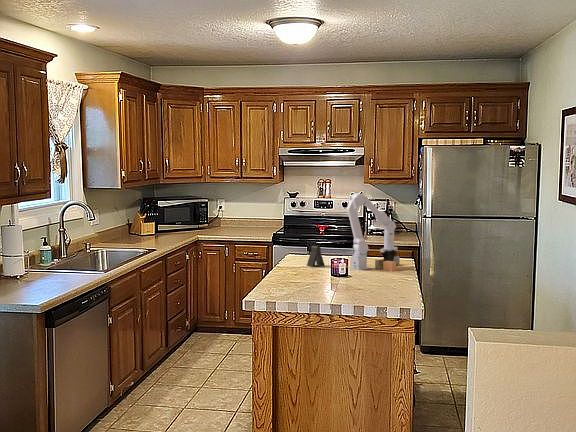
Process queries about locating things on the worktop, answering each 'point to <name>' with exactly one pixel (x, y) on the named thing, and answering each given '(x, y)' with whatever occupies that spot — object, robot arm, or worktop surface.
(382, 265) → the gate door
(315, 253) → the phone stand
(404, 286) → the worktop surface
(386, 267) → the terracotta rectangular block
